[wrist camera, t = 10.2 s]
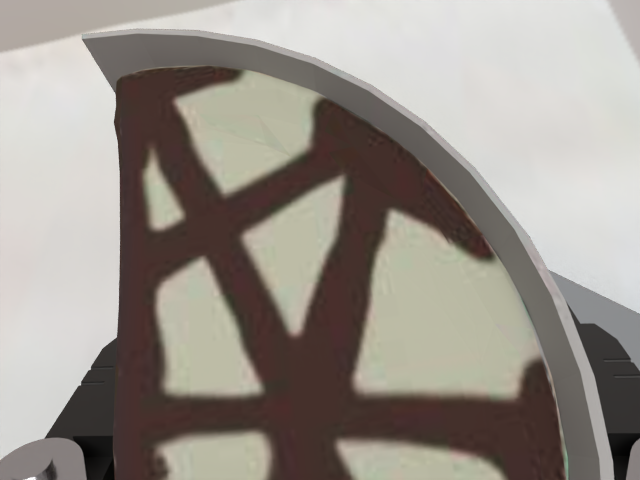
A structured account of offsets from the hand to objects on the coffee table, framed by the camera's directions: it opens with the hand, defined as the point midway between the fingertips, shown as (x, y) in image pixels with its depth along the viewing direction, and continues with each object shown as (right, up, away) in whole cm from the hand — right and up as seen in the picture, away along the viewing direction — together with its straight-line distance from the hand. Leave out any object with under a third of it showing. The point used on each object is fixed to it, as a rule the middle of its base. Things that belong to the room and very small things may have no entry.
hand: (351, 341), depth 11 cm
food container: (+1, -3, +4) cm, 5 cm away
